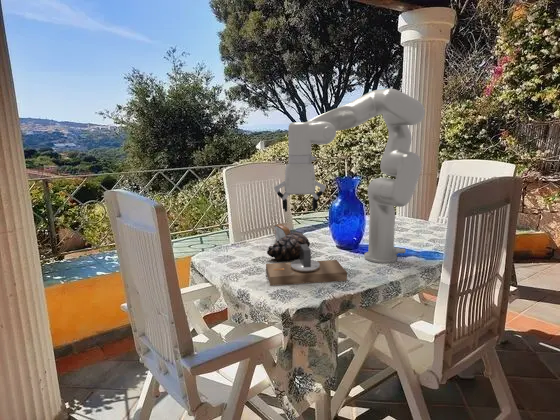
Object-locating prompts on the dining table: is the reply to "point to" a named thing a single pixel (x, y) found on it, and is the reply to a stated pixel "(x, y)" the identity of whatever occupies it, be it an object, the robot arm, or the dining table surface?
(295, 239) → the pine cone
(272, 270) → the brown wooden board
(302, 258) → the dial knob
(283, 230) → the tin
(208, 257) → the dining table surface
